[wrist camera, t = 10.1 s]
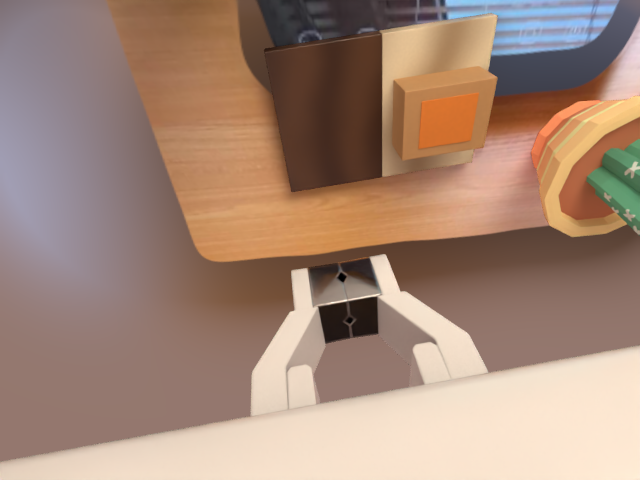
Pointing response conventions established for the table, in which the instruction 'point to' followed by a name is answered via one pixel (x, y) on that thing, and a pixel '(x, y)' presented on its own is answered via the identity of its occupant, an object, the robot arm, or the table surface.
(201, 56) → the table surface
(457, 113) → the coffee packet
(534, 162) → the potted cactus
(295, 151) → the board
